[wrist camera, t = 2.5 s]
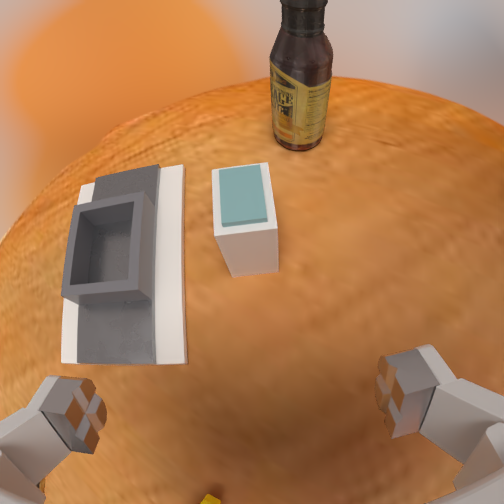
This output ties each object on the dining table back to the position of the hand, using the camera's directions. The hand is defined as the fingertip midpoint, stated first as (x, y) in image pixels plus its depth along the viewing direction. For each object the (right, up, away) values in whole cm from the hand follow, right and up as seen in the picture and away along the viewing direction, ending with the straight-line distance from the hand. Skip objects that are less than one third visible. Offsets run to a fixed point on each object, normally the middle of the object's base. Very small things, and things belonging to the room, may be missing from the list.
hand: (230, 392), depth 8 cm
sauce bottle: (+6, +18, +30) cm, 35 cm away
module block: (+1, +4, +24) cm, 24 cm away
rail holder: (-13, +3, +25) cm, 28 cm away
